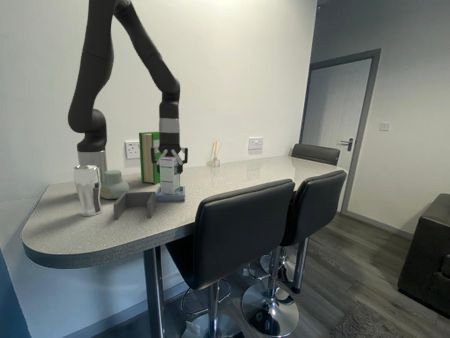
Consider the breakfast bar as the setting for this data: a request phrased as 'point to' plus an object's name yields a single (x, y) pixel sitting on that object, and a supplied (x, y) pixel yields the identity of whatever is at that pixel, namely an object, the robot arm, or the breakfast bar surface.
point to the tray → (170, 195)
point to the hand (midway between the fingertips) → (170, 173)
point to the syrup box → (169, 175)
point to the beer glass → (88, 188)
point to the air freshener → (113, 185)
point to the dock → (135, 202)
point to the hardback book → (149, 157)
